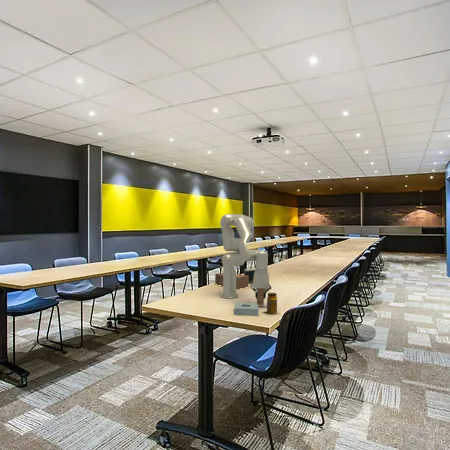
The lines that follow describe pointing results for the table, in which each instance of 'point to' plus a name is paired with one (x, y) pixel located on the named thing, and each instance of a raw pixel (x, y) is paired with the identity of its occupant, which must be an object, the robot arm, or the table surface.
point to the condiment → (271, 304)
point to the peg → (260, 297)
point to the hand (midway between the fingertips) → (260, 298)
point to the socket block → (246, 309)
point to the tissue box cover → (240, 280)
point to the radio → (250, 274)
